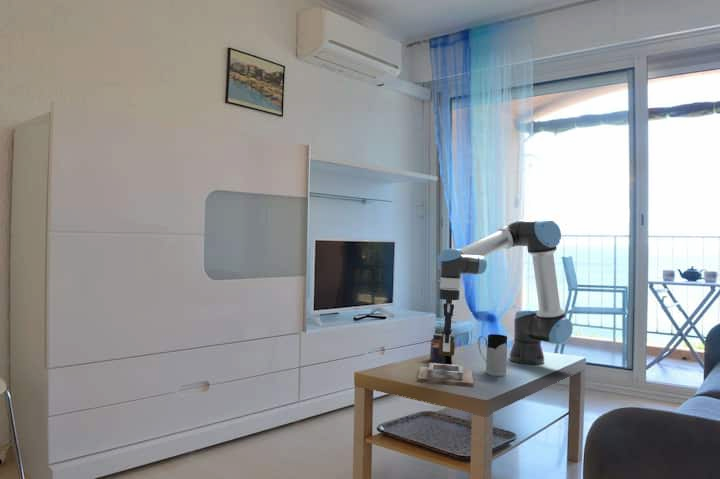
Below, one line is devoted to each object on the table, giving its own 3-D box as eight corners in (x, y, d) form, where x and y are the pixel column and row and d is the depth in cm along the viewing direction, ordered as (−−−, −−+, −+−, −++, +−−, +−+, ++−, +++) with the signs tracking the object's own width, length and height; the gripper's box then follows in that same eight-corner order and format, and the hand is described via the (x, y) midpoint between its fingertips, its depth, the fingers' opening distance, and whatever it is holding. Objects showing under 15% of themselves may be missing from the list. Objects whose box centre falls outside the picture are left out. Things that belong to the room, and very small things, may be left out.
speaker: (449, 363, 228) (448, 339, 228) (452, 367, 222) (451, 342, 222) (431, 364, 228) (430, 340, 228) (434, 368, 222) (433, 343, 222)
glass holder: (497, 376, 210) (499, 338, 210) (469, 368, 221) (471, 332, 222) (511, 374, 215) (513, 337, 215) (484, 367, 226) (486, 331, 227)
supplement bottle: (427, 360, 235) (428, 334, 235) (433, 358, 240) (434, 332, 240) (440, 362, 231) (441, 336, 232) (445, 360, 236) (447, 334, 237)
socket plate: (471, 373, 213) (471, 364, 213) (473, 386, 193) (473, 376, 193) (420, 369, 216) (420, 360, 216) (417, 381, 196) (417, 371, 196)
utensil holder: (455, 356, 201) (457, 324, 202) (438, 355, 201) (440, 323, 202) (453, 353, 207) (454, 322, 207) (436, 352, 207) (438, 321, 207)
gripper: (440, 286, 215) (437, 344, 214) (439, 290, 196) (435, 353, 196) (459, 288, 213) (456, 346, 213) (460, 291, 195) (456, 355, 194)
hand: (446, 349), depth 204 cm, fingers closed on utensil holder, 6 cm apart
